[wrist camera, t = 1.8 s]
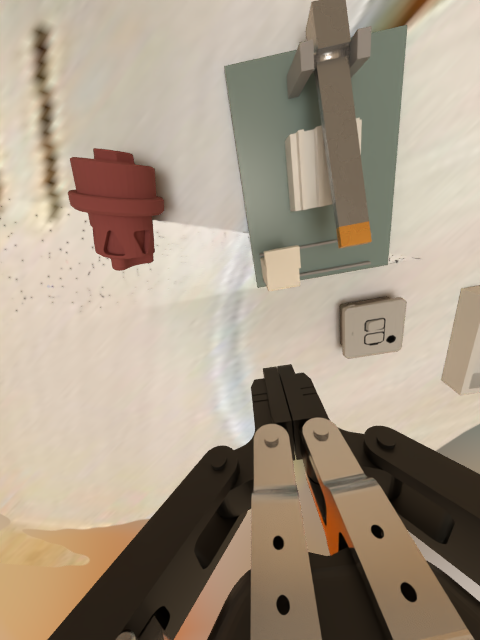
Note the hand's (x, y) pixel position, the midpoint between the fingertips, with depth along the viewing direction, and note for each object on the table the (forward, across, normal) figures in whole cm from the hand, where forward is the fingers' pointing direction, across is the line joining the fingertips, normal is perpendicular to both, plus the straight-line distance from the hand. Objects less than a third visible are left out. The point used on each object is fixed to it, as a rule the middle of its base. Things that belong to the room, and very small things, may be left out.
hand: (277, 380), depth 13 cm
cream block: (+26, -4, 0) cm, 26 cm away
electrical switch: (+27, -22, +12) cm, 37 cm away
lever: (+21, -11, -20) cm, 31 cm away
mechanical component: (+27, +14, -11) cm, 33 cm away
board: (+27, -11, -10) cm, 31 cm away
